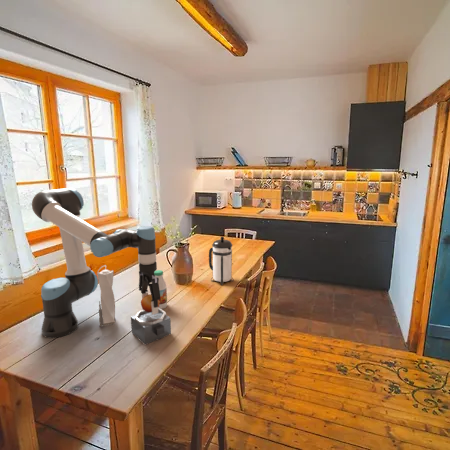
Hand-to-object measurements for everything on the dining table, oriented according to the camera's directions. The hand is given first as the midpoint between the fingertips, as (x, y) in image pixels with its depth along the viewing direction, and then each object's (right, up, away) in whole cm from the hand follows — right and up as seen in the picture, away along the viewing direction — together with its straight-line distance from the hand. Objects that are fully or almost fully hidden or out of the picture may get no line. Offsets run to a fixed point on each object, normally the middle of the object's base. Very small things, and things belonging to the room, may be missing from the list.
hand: (150, 309), depth 141 cm
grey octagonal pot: (+1, -12, +2) cm, 12 cm away
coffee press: (+31, +2, +64) cm, 71 cm away
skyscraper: (-24, -9, +13) cm, 29 cm away
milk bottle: (-2, -6, +29) cm, 29 cm away
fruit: (0, 0, 0) cm, 1 cm away
